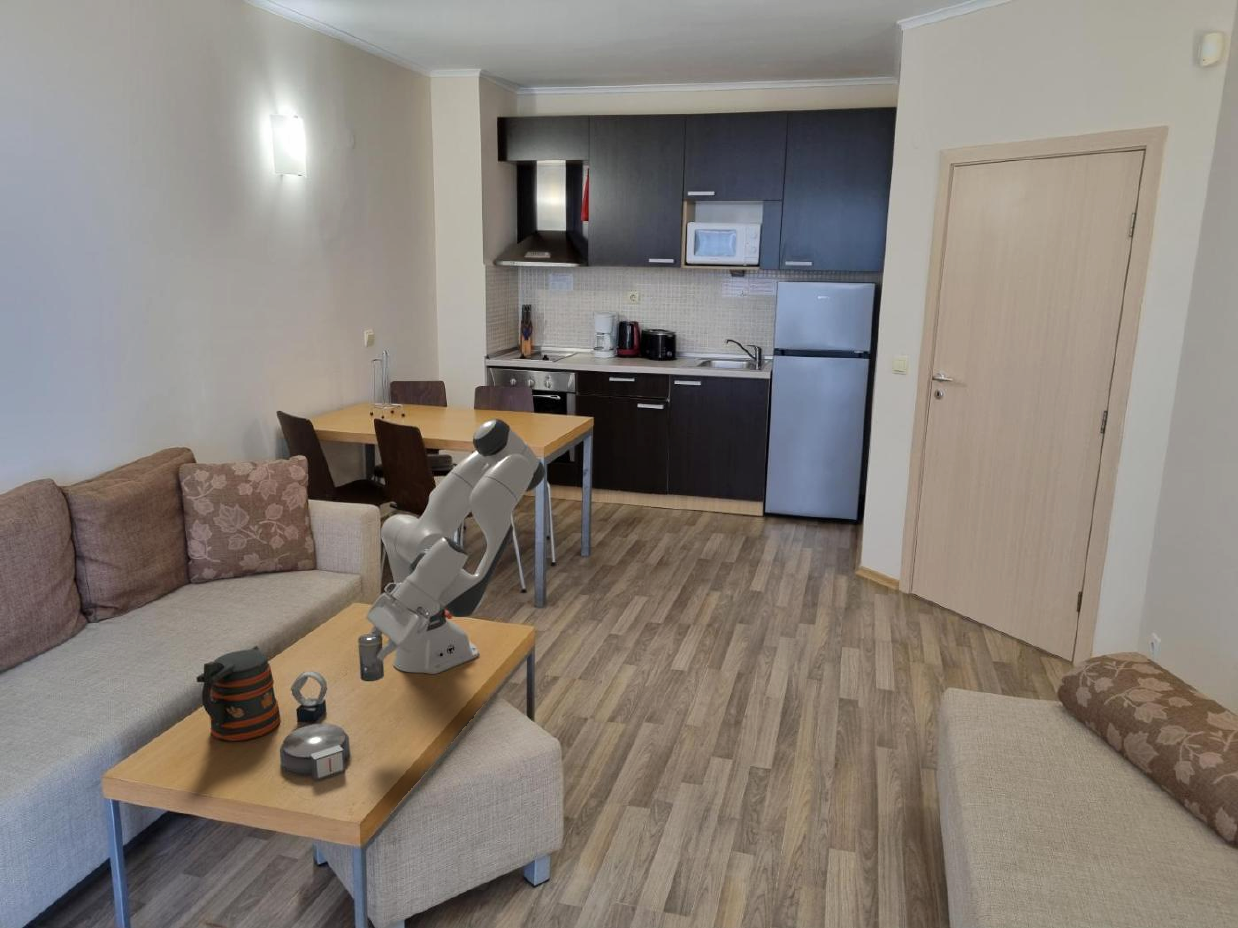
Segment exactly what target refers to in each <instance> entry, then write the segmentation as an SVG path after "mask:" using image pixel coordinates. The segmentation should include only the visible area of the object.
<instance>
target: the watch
mask: <svg viewBox="0 0 1238 928" xmlns="http://www.w3.org/2000/svg"><path fill="white" fill-rule="evenodd" d="M309 678H312V679H313V680H314V681H316V682H317V683H318V684H319V686H320V691H319V694H318V697H317V698H313V697H308V698H306V697H305V696H303V695H302V693H301V690H302V688H303V687H304V686H305V684H306V683H307V681H308V679H309ZM327 684H328V683H327V682H326V680H325V677H324V676H323V675H322V674H320V673H318V672H317V671H314V670H307V671H306V672H305V671H303V672H301V673H300V674H299V675H298V677H297V678H296V679H295V680H294V682H293V684H292V685H291V687H290V691H291V696H293V698H294V699H295V701H296V702H297V703H298V704H300V705H299V706H298V707H296V709H295V710H296V712H295V713H296V721H297V723H309V724H316V723H317V722H318V720H320V719H321V718H322V716H324V715H325V714H326V713H327V703H326V699H324V698H325V696H326V694H327V691H328V686H327Z"/></svg>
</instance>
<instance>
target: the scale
mask: <svg viewBox="0 0 1238 928" xmlns="http://www.w3.org/2000/svg"><path fill="white" fill-rule="evenodd" d="M350 750H351V749H350V738H349V735H348V734H347V733H346V732H345V741H344V743H343V745H342V746H341V747H340V745H338V746H335V747H331V748H328V749H325V750H322V751H319V752H316V753H313V754H310V755H311V758H296V757H292V756H289V755H288V754H286V753H285V752H284V750H283V743H282V744H281V746H280V748H279V755H280V765H281V768H282V770H284V771H285V772H286V773H288V774H290V775H295V776H299V777H300V776H302V777H303V776H304V777H307V776H309V777H310V776H312V778H313V779H314V781H315V782H319V781H322V780H324V779H327V778H331V777H333V776H336V775H339V774H343V773H346V768H345V762H346V761H348V759H349V757H350V752H351V751H350Z"/></svg>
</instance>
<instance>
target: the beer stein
mask: <svg viewBox="0 0 1238 928" xmlns="http://www.w3.org/2000/svg"><path fill="white" fill-rule="evenodd" d="M274 681H275V680H274V677H273V673H272V669H271V664H270V663H269V661H268V657H267V655H266V654H265V653H264V652H262V651H260V650H259V647H258V645H255V646H254V647H253V648H251V649H245V650H243V649H242V650H237V651H232V652H231V651H230V652H228V653H224V654H223V655H221V656H219V657H217V658H216V659H214V660H213V661H210V662H205V663H204V664H203V673H202V674H199V675H198V676H196V682H197V683H203V687H202V692H201V701H202V705H203V708H204V710H205V712H206V713H207V715H208V716H209V719H210V731H211V734H212V735H213V737H215V738H216V739H217V740H218V739H219V740H221V741H225V742H229V741H230V742H240V741H248V740H253V739H256V738H259V737H261V736H264V735H266V734H268V733H269V732H271V731H273V730H274V729H275V728H277V726H278V725H279V723H280V722H281V717H282V716H281V713H280V712H281V711H280V707H279V702H278V700H277V698H276V695H275V688H274V683H275V682H274Z"/></svg>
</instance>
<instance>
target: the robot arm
mask: <svg viewBox="0 0 1238 928" xmlns="http://www.w3.org/2000/svg"><path fill="white" fill-rule="evenodd" d="M472 444H473V447H474V448H475V450H474V451H472V453H470V454H469V455H467V456H466V457H465V458H464V459H462V460H460V462H459V463H458V464H456V465H455V467H453V468H452V469H451V470H450V471H449V472H448V473H447V474H446V476H445V477H444V478H443V479H442V480H441V481H440V482H439V483H438V484H437V485H436V487H434V488H433V490H432V491H431V492H430V494H429V496H428V503H427V506H426V508H425V510H424V512H423V513H422V514H421V516H420V517H419V518H417V517H415V516H413V515H411V514H400V513H399V514H395V515H394V514H393V515H392V516H390V517H388V518H387V519H386V520H385V521H384V522H383V524H382V526H381V529H380V538H381V540H382V543H383V545H384V546H385V549H386V553H387V557H388V563H389V566H390V571H391V573H392V577H393V582H389V583H388V584H387V585H386V586H385V587H384V591H385V592H383V593H382V594H380V596H378V597H377V599H376V600H375V602H374V603H373V604H372V605H371V607H370V608H369V610H368V611H367V614H366V618H365V619H366V620H367V621H368V622H369V623H371V624H372V625H373V627H372V628H371V630H370V632H369V634H379V635H381V636H382V635H384V636H385V637H387V638H388V640H387V642H386V643H385V644H386V645H385V646H384V645H383V646H382V647H383V648H382V649H380V648H379V650H378V651H377V652H376V654H375V656H376V657H377V658H378V659H380V660H381V661H383V662H384V661H385V659H386V657H388V655H390V654H392V653H393V652H395V653H394V658H393V661H392V664H393V667H395V668H396V669H397V670H399V671H402V672H406V673H423V674H431V675H434V674H438V673H441V672H443V671H446V670H448V669H451V668H453V667H455V666H457V665H461V664H463V663H465V662H468V661H470V660H472V659H473V660H474V659H475V658H477V657H479V649H478V647H477V646H476V645H475V644H474V643H473V642H471V641H470V640H469V636H468V634H467V632H466V631H465V629H464V628H462V627H461V626H459V625H457V624H456V623H454V622H452V621H451V619H453V617H454V618H465V617H470V616H472V615H473V614H474V613H475V612H476V611H477V610H478V609H479V607H480V606H481V604H482V602H483V600H484V597H485V593H486V592H487V588H488V586H489V583H490V582H491V579H492V578H493V576H494V573H495V571H496V569H497V567H498V566H499V563H500V561H502V560H501V559H502V557H503V555H504V553H505V551H506V549H507V547H508V545H509V543H510V540H511V538H512V536H513V531H514V526H513V524H512V515H513V514H512V513H513V512H514V509H515V507H516V506H517V505H518V504H519V502H520V501H521V499H522V498H523V496H524V494H525V493H528V492H531V491H533V490H534V489H535V488H537V487H538V486H539V485H540V484H541V482H542V481H544V477H545V474H546V469H545V466H544V465H543V462H542V461H541V459H540V458H538V457H537V455H536V454H535V452H534V451H533V450H532V448H531V447H530V446H529V444H528V443H527V442H526V441H524V440H523V439H522V438H521V436H519V434H517V432H515V431H514V430H513V429H512V428H511V427H510V425H509V424H508V423H507V422H505V421H504V420H502V419H501V418H491V419H489V420H487V421H485V422H484V423H482V424H481V425H480V426H479V427H478V429H477V430H476V431H475V432H474V434H473V436H472ZM470 513H471V515H472V516H473V518H474V520H475V522H476V523H477V525H478V527H479V528H480V529H481V532H483V534H484V537H485V540H486V550H485V552H484V555H483V557H482V559H481V561H480V562H479V565H477V566H478V567H477V569H476V571H475V573H474V574H471V573H469V572H467V571H466V570H465V569H464V568H463V567H464V566H465V564H466V562H467V560H468V558H469V554H468V551H467V550H466V549H465V548H463V546H461V545H460V544H459V543H458V542H456V541H455V540H453V538H454V537H455V535H456V532H457V530H458V529H459V527H460V525H461V524H462V522H463V521H464V520H465V519H466V518H467V516H468V515H469V514H470ZM440 605H441V606H440Z"/></svg>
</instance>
